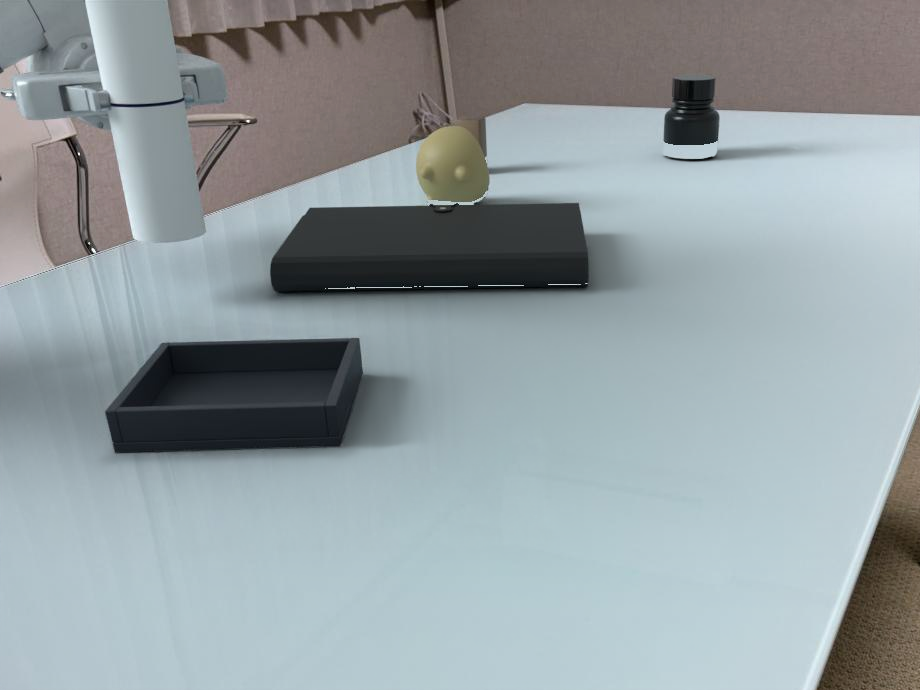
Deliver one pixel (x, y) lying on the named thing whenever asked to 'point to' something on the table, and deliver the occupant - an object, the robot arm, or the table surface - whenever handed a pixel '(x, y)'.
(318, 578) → the table surface
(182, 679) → the table surface
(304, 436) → the tray
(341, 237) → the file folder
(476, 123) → the wooden block
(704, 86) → the ink bottle
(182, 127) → the cylindrical container
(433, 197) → the tan rounded lump
